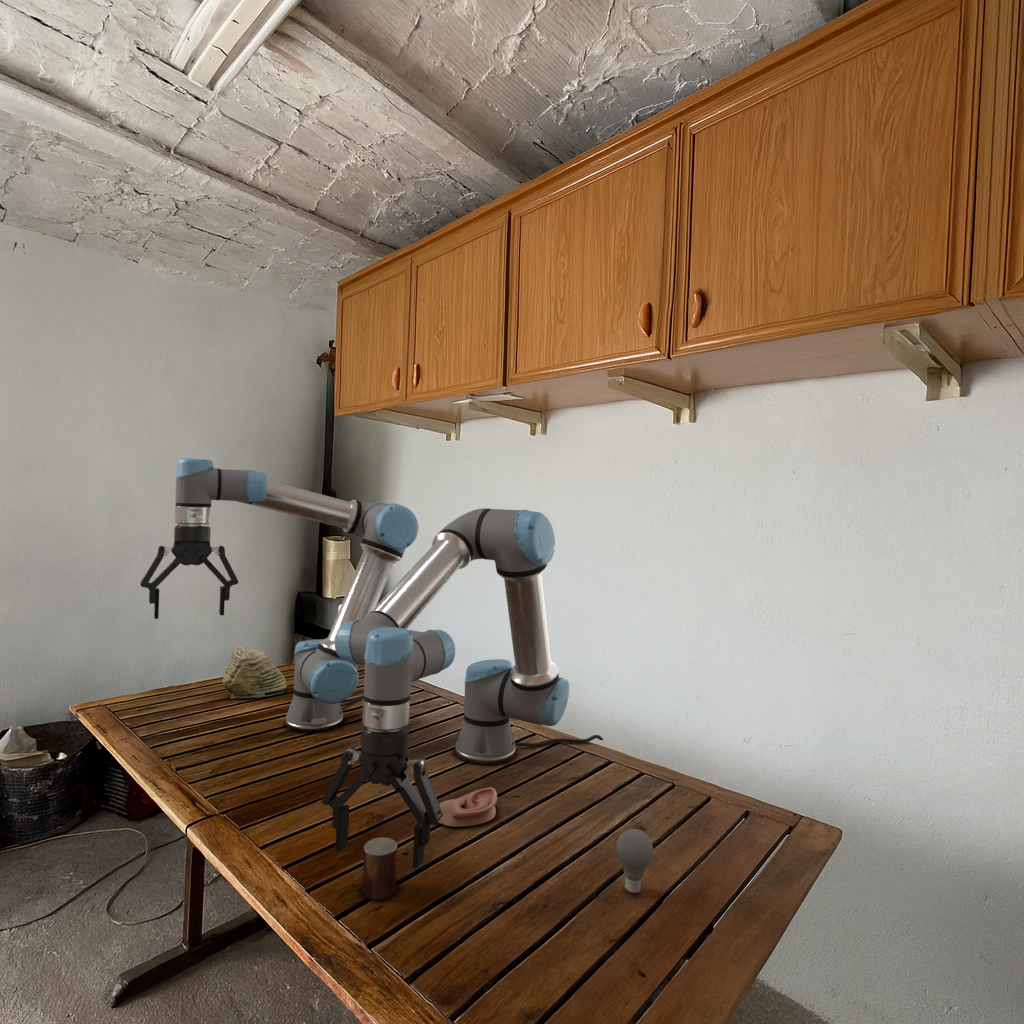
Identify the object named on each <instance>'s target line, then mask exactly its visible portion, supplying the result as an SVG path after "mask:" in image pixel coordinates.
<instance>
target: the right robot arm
mask: <svg viewBox="0 0 1024 1024" xmlns="http://www.w3.org/2000/svg"><path fill="white" fill-rule="evenodd" d="M555 546H556V536H555V532H554V528H553V525H552V523H551V521H550V519H549V518H548V517H547V516H546V515H545V514H544V513H543V512H541V511H540V512H539V511H532V510H529V509H503V508H501V509H500V508H487V507H485V508H482V507H481V508H477V509H473V510H471V511H468V512H466V513H464V514H462V515H460V516H458V517H457V518H455V519H454V520H452V521H450V522H449V523H447V525H445V526H444V527H443V528H442V529H441V530H440V531H439V532H438V533H437V534H436V535H435V536H434V537H433V539H432V542H431V546H430V548H429V549H428V550H427V551H426V552H425V553H424V554H423V556H421V558H420V559H419V560H418V561H417V562H416V563H415V564H414V565H413V566H412V567H411V568H410V569H409V570H408V571H407V572H406V574H405V575H404V576H403V577H401V579H400V580H399V581H398V582H397V583H396V584H395V585H394V586H393V588H391V589H390V591H389V592H388V593H387V594H386V595H385V596H383V598H382V599H381V600H380V601H378V603H377V605H376V607H375V608H374V609H373V610H372V611H371V612H370V613H369V614H368V615H367V616H366V617H365V618H364V619H363V620H362V621H361V622H360V621H358V620H355V621H348V622H345V623H343V624H342V625H341V626H340V628H339V629H338V631H337V633H336V636H335V641H334V646H335V650H336V653H337V655H338V656H339V657H340V658H341V659H343V660H346V661H349V662H353V663H355V664H359V665H364V677H363V678H364V679H363V680H364V681H363V688H364V689H363V698H362V718H361V722H362V725H363V726H362V728H361V732H360V733H361V736H360V750H361V751H358V750H357V749H356V747H355V746H350V747H349V748H348V749H347V750H345V751H344V752H342V755H341V761H340V765H339V767H338V769H337V771H336V773H335V775H334V777H333V778H332V780H331V782H330V784H329V786H328V788H327V789H326V791H325V793H324V795H323V796H322V799H321V803H322V804H323V805H324V806H329V807H331V809H332V818H331V819H332V820H331V827H332V829H334V830H335V846H334V847H335V848H334V852H335V853H341V852H342V850H343V849H345V848H346V847H347V846H348V844H349V827H350V826H349V825H350V805H349V804H346V803H347V802H348V800H350V798H351V797H352V796H353V795H354V794H355V793H356V792H357V791H358V790H359V789H360V788H361V787H362V786H363V784H365V783H366V781H367V780H368V781H369V782H370V784H372V785H373V784H374V785H382V786H384V787H390V786H392V788H393V789H394V791H395V792H398V793H399V795H400V796H401V798H402V799H403V801H404V803H405V805H406V806H407V807H408V810H410V812H411V814H412V815H413V817H414V818H415V820H416V821H417V823H416V824H415V825H414V828H413V829H414V831H413V833H414V834H413V853H412V868H413V869H418V868H419V866H420V865H421V864H422V862H423V861H424V859H425V847H426V846H427V844H428V843H429V842H430V840H431V827H432V825H433V826H436V825H437V824H438V821H439V820H440V819H441V817H442V816H443V813H442V810H441V808H440V805H439V804H440V803H439V800H438V798H437V795H436V792H435V790H434V787H433V785H432V782H431V780H430V777H429V774H428V772H427V760H426V758H424V757H420V758H419V759H409V757H408V756H409V755H408V750H409V749H408V748H409V733H410V728H409V726H408V724H410V712H411V709H410V707H411V706H410V705H411V687H412V683H413V682H415V681H418V680H421V679H423V678H426V677H430V676H432V675H433V676H434V675H437V674H439V673H441V672H442V671H444V670H446V669H448V668H449V667H450V666H451V665H452V663H454V660H455V657H456V644H455V641H454V639H453V638H452V637H451V635H450V634H449V633H447V631H445V630H442V629H428V630H425V631H418V630H414V629H413V630H412V629H408V628H410V626H411V625H412V623H413V622H414V621H415V620H416V619H417V618H418V617H419V615H420V614H421V613H422V612H423V611H424V609H426V607H427V606H428V605H429V604H430V603H431V601H432V600H433V599H434V598H435V597H436V595H437V594H438V593H439V592H440V591H441V589H443V587H444V586H445V585H446V584H447V583H448V582H449V580H450V579H451V578H452V577H453V575H454V574H456V572H457V571H458V570H461V569H464V568H466V567H467V566H468V565H469V564H470V563H471V562H473V561H476V560H486V561H487V560H488V561H494V564H495V570H496V574H497V575H499V576H500V577H501V578H503V581H504V589H505V596H506V597H505V598H506V604H507V605H506V606H507V612H508V613H507V614H508V619H509V627H510V628H509V629H510V636H511V643H512V651H513V652H512V653H513V659H514V665H513V663H512V661H511V660H508V659H500V658H499V659H485V660H484V659H483V660H479V661H476V662H472V663H471V664H469V665H468V666H467V667H466V669H465V670H466V671H465V679H464V703H463V705H464V706H463V722H462V725H461V728H460V729H459V730H458V731H457V732H456V733H455V734H454V740H456V741H455V746H454V747H455V748H454V753H455V755H456V756H457V757H458V758H459V759H461V760H463V761H465V762H467V763H472V764H476V765H497V764H498V765H499V764H502V763H506V762H508V761H511V760H512V759H513V758H514V757H515V756H516V747H541V746H545V745H548V744H549V745H550V744H552V743H573V744H585V743H590V742H591V741H593V740H595V739H598V740H599V741H604V738H603V737H602V736H601V735H600V734H594V735H591V736H590V737H587V738H582V739H579V738H578V739H577V738H566V737H565V738H564V737H561V738H560V737H559V738H551V739H547V740H543V741H539V742H523V741H522V742H520V741H519V742H516V741H515V740H514V736H513V732H512V728H511V724H510V719H513V720H518V721H521V722H524V723H525V722H526V723H530V724H535V725H538V726H547V727H554V726H556V725H558V723H559V722H560V721H561V719H562V718H563V716H564V714H565V711H566V709H567V705H568V701H569V697H570V696H569V695H570V683H569V680H568V679H567V678H564V677H560V675H559V667H558V665H557V664H556V663H555V662H554V661H552V659H551V651H550V650H551V649H550V641H549V631H548V623H547V614H546V612H547V611H546V604H545V603H546V602H545V595H544V586H543V576H542V574H543V573H544V572H545V571H546V570H547V568H548V564H549V563H550V562H551V561H552V559H553V558H554V554H555ZM357 762H358V764H359V765H360V767H361V769H362V771H361V773H360V774H359V775H358V776H357V777H356V778H355V779H354V780H353V782H352V783H350V785H349V786H348V787H347V788H346V789H345V790H344V791H343V792H342V793H341V795H339V796H338V793H339V792H340V790H341V788H342V786H343V784H344V782H345V781H346V779H347V777H348V776H349V773H350V772H351V770H352V768H353V765H354V764H356V763H357ZM407 769H408V770H409V771H410V775H411V776H413V780H414V783H415V786H416V788H415V787H414V786H413V785H414V784H412V782H411V778H410V776H409V774H408V773H407ZM416 789H417V790H416Z"/></svg>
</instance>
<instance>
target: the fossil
mask: <svg viewBox="0 0 1024 1024" xmlns="http://www.w3.org/2000/svg"><path fill="white" fill-rule="evenodd" d="M222 676H223V677H222V685H223V687H224V688H225V690H226V691H228V693H229V698H230V699H250V698H264V697H271V696H275V695H281V694H284V693H285V691H286V689H287V687H288V686H287V680H286V678H285V676H284V674H283V673H282V672H281V669H279V668H278V667H277V665H276V663H275V662H274V660H273V659H272V658H271V657H270V656H269V655H268V654H267V653H266V652H265V650H264V649H263V648H260V647H258V648H251V647H247V646H246V647H245V646H238V647H237V648H236V649H235V650H233V651H232V653H231V656H230V657H229V659H228V660H227V663H226V666H225V668H224V671H223V675H222Z"/></svg>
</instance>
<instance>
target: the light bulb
mask: <svg viewBox="0 0 1024 1024" xmlns="http://www.w3.org/2000/svg"><path fill="white" fill-rule="evenodd" d="M615 849H616V854H617V857H618V859H619V861H620V863H621V865H622V867H623V873H624V874H623V875H624V876H625V878H624V888H625V890H627V891H628V892H630V893H634V894H635V893H639V892H640V891H641V889H642V887H641V886H642V879H643V877H644V875H645V871H646V868H647V867H648V866H649V864H650V863H651V861H652V859H653V855H654V847H653V843H652V841H651V838H649V836H648V835H647V834H646V833H645V832H643V831H642V830H641V829H636V828H629V829H627V830H625V831H623V832H622V833H621V834H620V835H619V837H618V839H617V841H616V847H615Z"/></svg>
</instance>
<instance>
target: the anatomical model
mask: <svg viewBox="0 0 1024 1024" xmlns="http://www.w3.org/2000/svg"><path fill="white" fill-rule="evenodd" d="M497 800H498V793H497V790H496V789H495V788H494V787H485V788H480V789H477V790H473V791H472V792H469V793H467V794H465V795H463V796H460V797H458V798H454V799H447V800H444V801H442V802H440V803H439V805H440V808H441V810H442V813H443V816H442V817H441V819H440V820H439V821H438V823H439V824H441V825H443V826H447V827H450V828H453V827H454V828H460V827H462V828H463V827H471V826H476V825H482V824H485V823H487V822H489V821H491V820H493V819H494V818H495V817H496V814H497V809H496V804H497ZM438 823H437V824H438Z"/></svg>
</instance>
